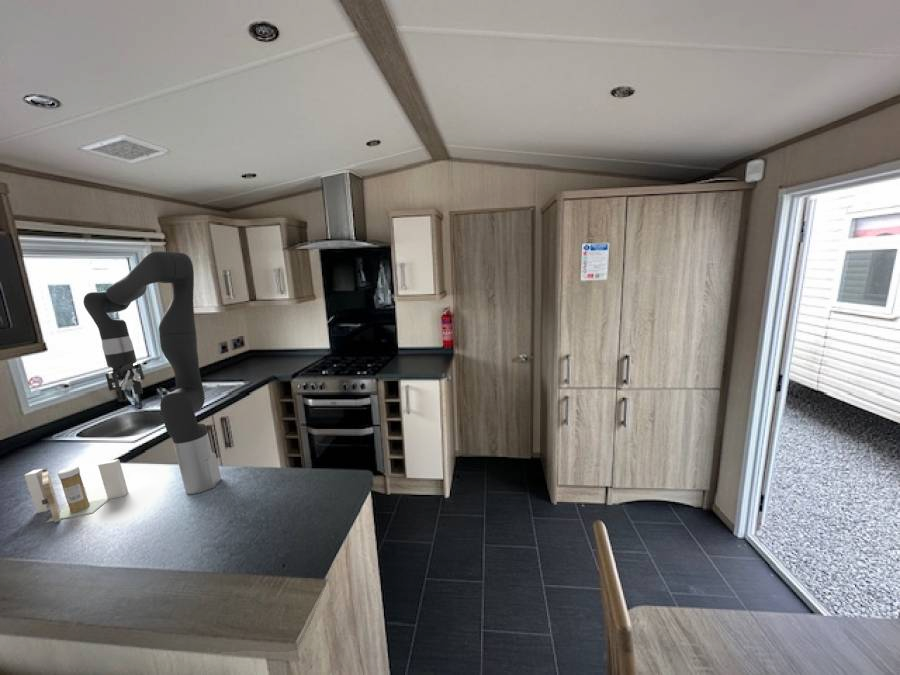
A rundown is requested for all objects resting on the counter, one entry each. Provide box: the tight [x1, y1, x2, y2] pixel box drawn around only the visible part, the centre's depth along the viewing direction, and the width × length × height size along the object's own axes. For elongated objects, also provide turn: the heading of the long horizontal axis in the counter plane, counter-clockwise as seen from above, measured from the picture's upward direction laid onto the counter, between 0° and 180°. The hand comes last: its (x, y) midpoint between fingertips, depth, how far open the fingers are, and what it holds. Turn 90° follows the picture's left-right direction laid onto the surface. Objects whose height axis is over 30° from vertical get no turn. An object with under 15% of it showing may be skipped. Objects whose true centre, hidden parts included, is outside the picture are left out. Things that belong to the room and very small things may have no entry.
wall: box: [97, 458, 129, 499], centre depth 121 cm, size 5×2×12 cm, turn 101°
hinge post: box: [24, 468, 51, 514], centre depth 117 cm, size 3×3×13 cm
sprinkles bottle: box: [57, 465, 90, 513], centre depth 114 cm, size 5×5×13 cm
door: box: [41, 468, 61, 523], centre depth 113 cm, size 14×2×13 cm, turn 48°
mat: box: [46, 497, 112, 523], centre depth 116 cm, size 12×8×1 cm, turn 101°
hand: (131, 397), depth 127 cm, fingers open, 8 cm apart
